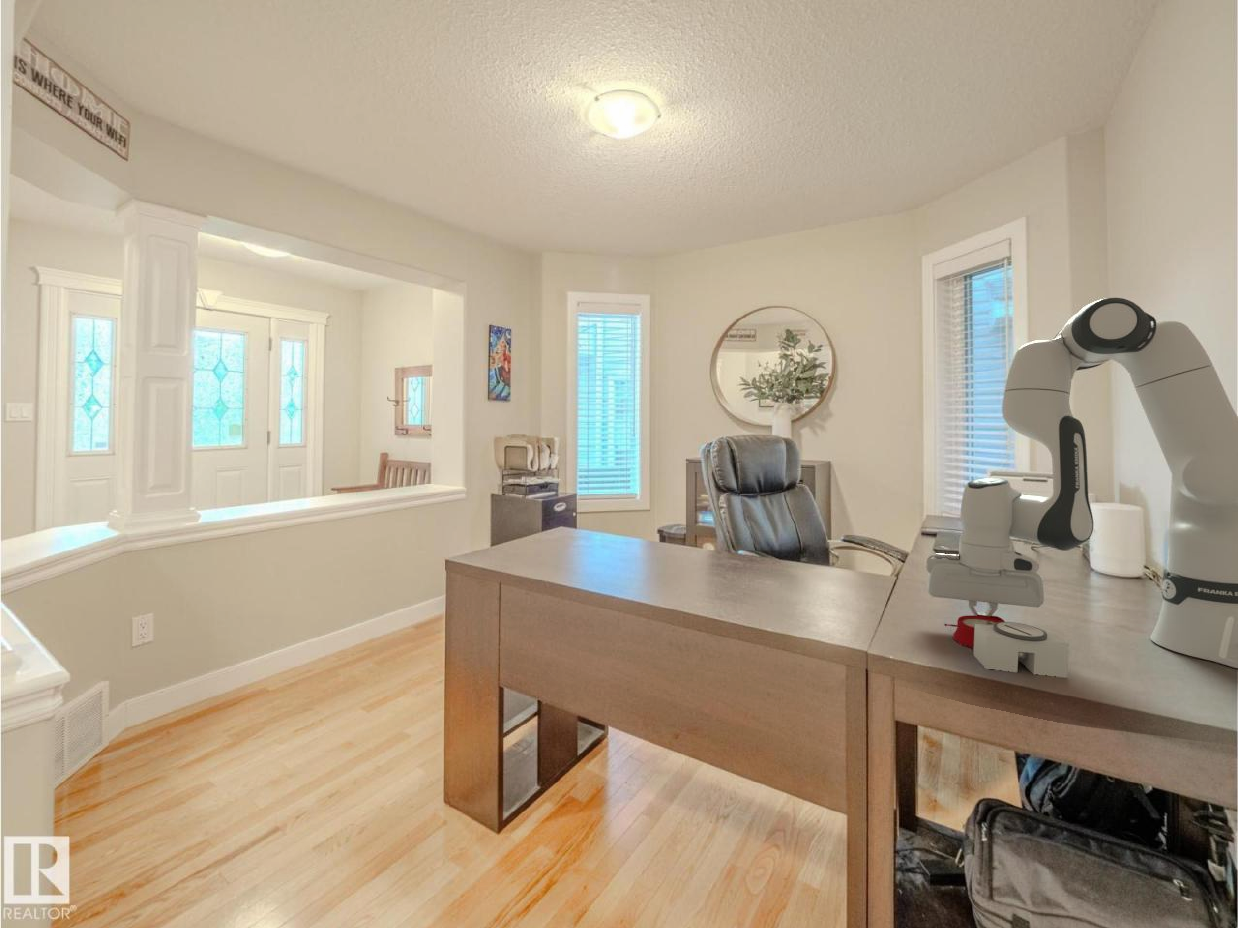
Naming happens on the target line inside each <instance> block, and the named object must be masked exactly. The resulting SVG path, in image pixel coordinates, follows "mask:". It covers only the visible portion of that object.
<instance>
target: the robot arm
mask: <svg viewBox="0 0 1238 928" xmlns="http://www.w3.org/2000/svg"><path fill="white" fill-rule="evenodd" d="M1152 322H1153V323H1152ZM1111 360H1112V361H1114V362H1117V363H1118V364H1120V365H1121V366H1122V367H1123V368H1124V369H1125V370H1126V371H1127V373H1128V374H1129V376H1130V379H1131V382H1132V384H1133V387H1134V390H1135V391H1136V394H1137V396H1138V398H1139V399H1138V400H1139V402H1140V403H1141V406H1142V409H1143V410H1144V413H1145V415H1146V418H1147V420H1148V422H1149V424H1150V427H1151V429H1152V431H1153V434H1154V436H1155V438H1156V440H1157V442H1158V444H1159V447H1160V450H1161V452H1162V455H1163V457H1164V459H1165V462H1166V464H1167V466H1168V468H1169V470H1170V471H1169V472H1170V473H1171V483H1170V484H1171V486H1170V487H1171V488H1170V489H1171V490H1170V503H1169V504H1170V508H1169V510H1170V511H1169V525H1168V527H1169V529H1168V531H1169V532H1168V545H1167V562H1166V569H1164V570H1163V573H1162V585H1161V597H1162V598H1161V599H1162V602H1161V608H1160V612H1159V616H1158V619H1157V622H1156V625H1155V627H1154V629H1153V631H1152V633H1151V635H1150V637H1149V638H1150V640H1151V641H1152V642H1153V643H1155V644H1157V645H1158V646H1161V647H1163V648H1165V649H1168V650H1170V651H1173V652H1176V653H1179V654H1182V655H1187V656H1190V657H1194V658H1198V659H1203V660H1206V661H1211V662H1215V663H1218V664H1221V665H1224V666H1228V667H1230V668H1235V669H1238V415H1237V413H1236V411H1235V410H1234V408H1233V405H1232V404H1231V401H1230V400H1229V397H1228V395H1227V393H1226V391H1225V388H1224V386H1223V384H1222V382H1221V380H1220V377H1219V376H1218V374H1217V371H1216V368H1215V367H1214V364H1213V362H1212V360H1211V358H1210V356H1209V355H1208V353H1207V351H1206V350H1205V348H1204V346H1203V344H1201V342H1200V340H1199V339H1198V338H1197V337H1196V334H1194V332H1193V331H1192V330H1191V329H1190V328H1189V327H1188V326H1187V325H1186V324H1185V323H1182V322H1180V321H1176V320H1175V321H1174V320H1168V321H1167V320H1163V321H1158V322H1157V319H1155V317H1154V316H1152V315H1150V314H1149V313H1147V312H1146V311H1144V309H1142V308H1141V307H1140V306H1139V305H1138V304H1137V303H1135V302H1133V301H1131V300H1129V299H1126V298H1123V297H1122V298H1121V297H1107V298H1102V299H1099V300H1095V301H1093V302H1091V303H1088V304H1086V306H1084V307H1082V308H1081V310H1079V312H1077V313H1076V314H1074V315H1073V316H1072V317H1071V318H1069V319H1068V321H1067V322H1066V323H1065V325H1064V326H1063V327H1062V329H1061V330H1060V331H1058V333H1057V334H1056V335H1055V337H1054V338H1053V339H1050V340H1048V339H1041V340H1033V341H1030V342H1028V343H1025V344H1024V345H1022V346H1020V347H1019V348H1018V350H1017V351H1016V352H1015V354H1014V357H1013V359H1012V363H1011V364H1010V367H1009V370H1008V374H1007V378H1006V381H1005V386H1004V393H1003V398H1002V405H1001V409H1002V410H1001V411H1002V412H1001V413H1002V418H1003V420H1004V421H1005V423H1006V424H1007V425H1008V426H1009V427H1010V428H1011V429H1012V430H1014V431H1015V432H1017V433H1019V434H1020V435H1022V436H1024V437H1027V438H1030V439H1032V440H1035V441H1037V442H1039V443H1041V444H1042V445H1044V446H1045V447H1046V448H1047V449H1048V451H1049V453H1050V455H1051V460H1052V461H1051V462H1052V490H1053V491H1052V495H1050V496H1041V495H1033V494H1029V493H1023V492H1020V491H1018V490H1016V489H1014V488H1013V487H1011V484H1010V481H1008V480H1007V479H1004V478H1000V477H983V478H976V479H973V480H971V481H968V482H967V483H966V485H965V487H964V490H963V495H962V497H961V499H962V500H961V506H960V523H961V530H962V531H961V534H960V537H959V545H958V554H955V553H954V554H953V553H949V554H948V553H946V554H945V553H942V552H938V553H937V552H936V553H934V554H932V555H929V556H928V557H927V559H926V564H925V565H926V567H925V569H926V571H927V572H928V574H927V579H926V591H927V593H928V594H929V595H930V596H931V597H933V598H940V599H941V598H942V599H951V600H957V601H966V604H967V606H968V607H969V609H970V611H971V612H972V613H971V614H972V615H971V616H983V617H988V616H994V614H995V612H997V610H998V608H999V605H1008V606H1017V607H1028V608H1036V609H1037V608H1040V607H1041V606H1042V605H1043V604H1044V601H1045V595H1044V583H1043V579H1042V577H1041V576H1040V575H1039V574H1038V573H1037V572H1039V568H1040V564H1039V563H1038V562H1037V560H1035V559H1034V558H1032V557H1031V556H1028V555H1026V554H1024V553H1020V552H1018V551H1015V550H1012V549H1011V548H1012V542H1011V539H1015V540H1016V539H1017V540H1018V541H1023V542H1029V543H1034V544H1037V545H1041V546H1044V547H1049V548H1051V549H1054V550H1055V549H1056V550H1058V551H1063V552H1064V551H1070V550H1073V549H1076V548H1078V547H1079V546H1081V545H1082V544H1083V545H1084V543H1086V542H1087V541H1088V540H1089V539H1090V538H1091V536H1092V534H1093V531H1094V517H1093V512H1092V509H1091V505H1090V499H1089V481H1088V480H1089V479H1088V475H1089V474H1088V456H1087V453H1088V452H1087V442H1086V440H1087V439H1086V434H1085V433H1086V432H1085V429H1084V426H1083V423H1082V421H1080V420H1079V419H1077V418H1075V417H1074V415H1073V414H1072V410H1071V406H1070V396H1071V390H1072V389H1071V388H1072V380H1073V379H1074V376H1075V373H1076V371H1081V370H1082V371H1083V370H1089V369H1093V368H1097V367H1099V366H1100V365H1103V364H1104V363H1106V362H1109V361H1111ZM1010 538H1011V539H1010ZM977 602H979V603H980V602H981V603H986V604H987V606H988V608H987V609H986V610H985V612H982V611H981V612H980V611H977V610H976V609H975V607H977V605H978V603H977Z"/></svg>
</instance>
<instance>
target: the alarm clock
mask: <svg viewBox="0 0 1238 928" xmlns="http://www.w3.org/2000/svg"><path fill="white" fill-rule="evenodd" d="M998 622H1006V621H1005V620H1004V618H1002V617H999V616H998V615H992V616H988V617H983V616H972V615H962V616H960V617H958V619H957V623H956V624H947V623H944V626H945V627H946V626H947V627H949V626H950V627H956V630H955V631H954V633H953V634H952V635H953V639H954V640H955V641H956V642H958V644H959V645H960V644H961V645H960V646H962V645H963V646H966V647H969V648H971V649H974V630H975V624H985V625H994V624H995V623H998Z"/></svg>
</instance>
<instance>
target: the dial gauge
mask: <svg viewBox="0 0 1238 928" xmlns="http://www.w3.org/2000/svg"><path fill="white" fill-rule="evenodd" d="M1069 647H1070V643H1069V642H1068V641H1067V640H1065V639H1064V638H1062V637H1061V636H1060V635H1058V633H1056V632H1055V631H1053V630H1050V629H1041V628H1039V627H1035V626H1034V625H1029V624H1026V623H1018V622H1013V621H1005V622H998V623H995V624H994V625H985V624H975V630H974V648H973V651H972V652H973V654H974V655H973V657H974V656H975V657H976V658H977V659H978V660H977V659H976V658H975V657H974V658H975V659H976V660H977V661H978V662H979V664H980V663H981V664H982V665H983V666H984V667H983V666H982V665H981V666H982V667H983V668H984V669H985V670H989V669H995V670H994V671H999V670H1002V671H1001V672H1008V671H1009V672H1010V673H1018V667H1019V662H1020V661H1021V662H1022V663H1023V664H1024V665H1025V666H1026V667H1025V666H1024V665H1023V664H1022V663H1021V662H1020V663H1021V664H1022V665H1023V666H1024V667H1025V668H1026V669H1027V670H1029V672H1031V673H1032V674H1033V675H1036V674H1038V676H1045V675H1047V676H1048V677H1054V676H1056V678H1063V679H1064V678H1066V679H1067V678H1068V668H1069V667H1068V666H1069V652H1070V651H1069V649H1070V648H1069ZM1018 652H1026V653H1027V658H1026V659H1024V660H1021V659H1019V658H1018ZM1019 660H1020V661H1019ZM1047 676H1046V677H1047Z"/></svg>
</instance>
